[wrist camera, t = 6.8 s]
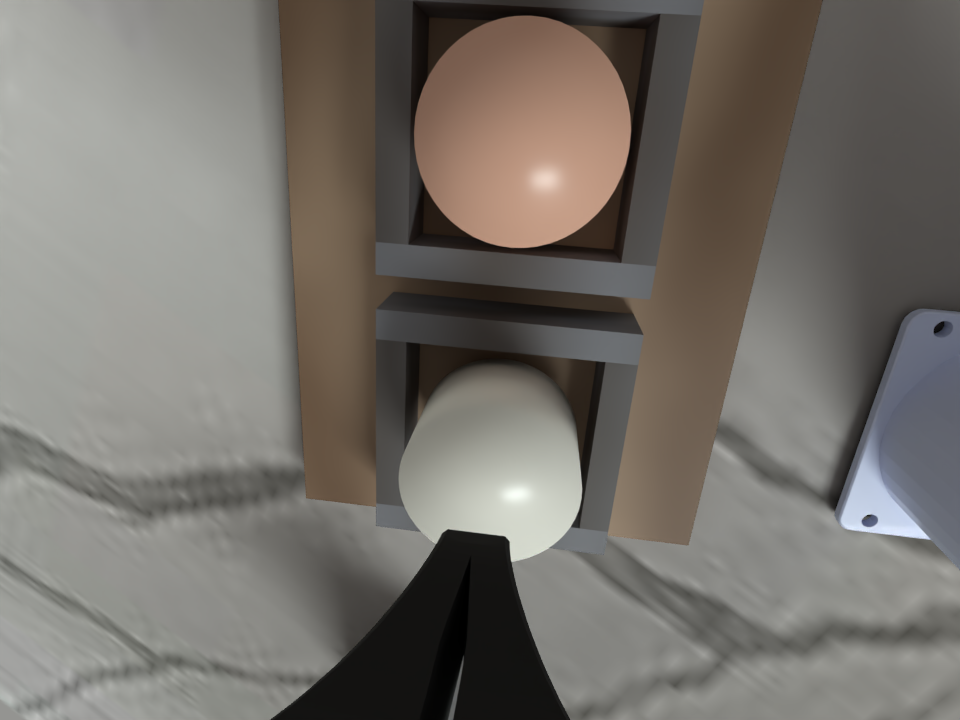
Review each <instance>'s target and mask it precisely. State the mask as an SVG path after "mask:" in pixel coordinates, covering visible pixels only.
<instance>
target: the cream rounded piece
mask: <svg viewBox="0 0 960 720" xmlns="http://www.w3.org/2000/svg"><path fill="white" fill-rule="evenodd" d="M399 490H400V494H401V499H402V501H403V504H404V507H405V509H406V511H407V513H408V515H409V517H410V518H411V520H412V521H413V522H414V524H415V525H416V526H417V528H418V529H419V530H420V531H421V532H422V533H423V534H424V535H425V536H426V537H427V538H429V539H430V540H431V541H432V542H434V543H435V544H437V542H438V540H439V538H440V536H441V534H442V533H443V532H444V531H446V530H447V529H451V530H459V531H467V532H475V533H483V534H491V535H499V536H505V537H506V538H507V539H508V540H509V541H510V556H511V562H512V561H518V560H522V559H526V558H529V557H532V556H534V555H537V554H539V553H541V552H543V551H545V550H546V549H548V548H549V547H551V546H552V545H554V544H555V543H556V542H557V541H558V540H560V539H561V538H562V537H563V536H564V535H565V533H566V532H567V531H568V530H569V528H570V527H571V525H572V524H573V522H574V520H575V518H576V516H577V513H578V511H579V508H580V503H581V498H582V481H581V470H580V460H579V450H578V439H577V429H576V420H575V416H574V411H573V409H572V406H571V404H570V402H569V400H568V398H567V396H566V395H565V393H564V392H563V391H562V389H561V388H560V387H559V386H558V385H557V384H556V383H555V382H554V381H553V380H552V379H551V378H550V377H548V376H547V375H546V374H545V373H543V372H541V371H540V370H538V369H536V368H534V367H532V366H530V365H527V364H525V363H521V362H518V361H514V360H508V359H484V360H479V361H474V362H471V363H468V364H466V365H463V366H461V367H459V368H457V369H455V370H454V371H452V372H451V373H449V374H448V375H447V376H446V377H445V378H443V379H442V380H441V381H440V382H439V384H438V385H437V386H436V387H435V388H434V390H433V392H432V393H431V395H430V397H429V399H428V401H427V403H426V405H425V408H424V410H423V412H422V414H421V416H420V419H419V421H418V423H417V425H416V427H415V429H414V432H413V434H412V436H411V438H410V440H409V443H408V445H407V447H406V449H405V452H404V454H403V456H402V459H401V463H400V467H399Z"/></svg>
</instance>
